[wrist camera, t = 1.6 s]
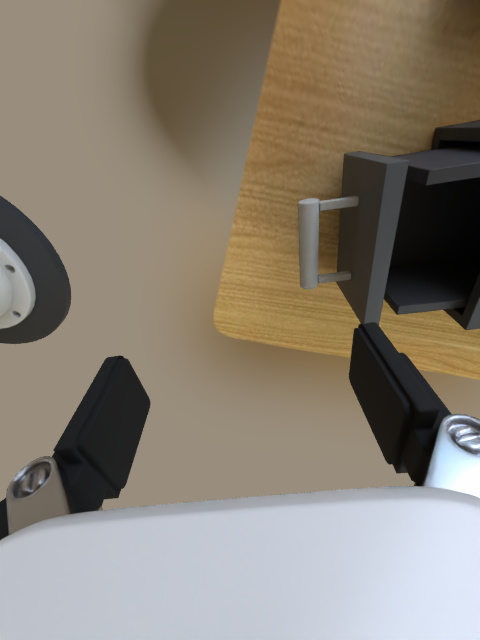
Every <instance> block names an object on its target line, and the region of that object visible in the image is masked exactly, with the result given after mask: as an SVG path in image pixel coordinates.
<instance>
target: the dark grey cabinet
mask: <svg viewBox="0 0 480 640" xmlns="http://www.w3.org/2000/svg"><path fill="white" fill-rule="evenodd" d="M477 142H480V120H479V121H473V122H467V123H461V124H455V125H450V126H444V127H438V128H436V131H435V136H434V141H433V145H432V150H434V149H440V148H446V147H452V146H458V145H464V144H471V143H477ZM444 311H445V312H446V313H447V314H449V315H450V316H451V317H452V318H453V319H454V320H455V321H456V322H457V323H459V325H461V326H462V327H463V328H464V329H465V330H471V329H480V272H479V275H478V277H477V280H476V283H475V285H474V288H473V290H472V293H471V295H470V298H469V300H468V303H467V305H466V307H463V308H454V309H444Z"/></svg>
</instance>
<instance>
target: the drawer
mask: <svg viewBox="0 0 480 640" xmlns="http://www.w3.org/2000/svg"><path fill="white" fill-rule="evenodd" d="M339 208H341V211H340V227H339V243H338V259H337V272H336V273H328V274H320V275H318V244H319V211H326V210H333V209H339ZM298 219H299V261H300V286H301V288H303V289H314V288H316V287H317V285H318V283H327V282H335V281H336V283H337V284H338V286H339V288H340V289H341V291H342V293H343V294H344V296H345V298H346V299H347V301H348V303H349V304H350V306H351V308H352V309H353V311H354V313H355V314H356V316H357V318H358V319H359V321H360V322H361V324H364V323H371V322H376V323H377V324H378V325H379V321H380V316H381V310H382V305H383V299H384V300H385V301H386V302H387V303H388V305H389V306H390V307H391V308H392V309H393V311H394V312H395V313H396V314H397V315H399V314H408V313H417V312H426V311H435V310H444V309H454V308H463V307H466V305H467V303H468V300H469V298H470V295H471V293H472V290H473V288H474V285H475V283H476V280H477V277H478V275H479V272H480V142H477V143H471V144H464V145H458V146H452V147H446V148H440V149H434V150H428V151H422V152H416V153H410V154H404V155H398V156H392V157H388V156H383V155H377V154H372V153H366V152H361V151H357V152H351V153H345V154H344V163H343V179H342V195H341V198H337V199H331V200H324V201H319V199H315V198H310V199H304V200H301V201H299V202H298Z"/></svg>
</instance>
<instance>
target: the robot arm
mask: <svg viewBox="0 0 480 640" xmlns="http://www.w3.org/2000/svg"><path fill="white" fill-rule="evenodd" d="M35 299H36V294H35V287H34V284H33V280H32V277H31V276H30V274H29V272H28V270H27V268H26V266H25V265H24V263H23V262H22V261H21V259H20V258H19V257H18V255H17V254H16V253H15V252H14V251H13V250H12V249H11V248H10V247H9V246H8V245H7V244H6V243H5V242H4V241H3V240H2V239H1V238H0V329H2V328H9V327H11V326H14V325H17V324H18V323H19V322H21V321H22V320H24V319H25V318H26V317H27V316H28V315H29V314H30V313H31V311H32V309H33V307H34V305H35ZM349 379H350V383H351V385H352V388H353V390H354V392H355V394H356V396H357V398H358V401H359V403H360V405H361V407H362V409H363V412H364V414H365V416H366V418H367V421H368V423H369V425H370V427H371V429H372V432H373V434H374V435H375V438H376V440H377V442H378V445H379V446H380V449H381V451H382V453H383V456H384V458H385V460H386V461H387V463H388V464H393V466H394V468H395V470H396V473H408V474H409V476H410V478H411V480H412V481H414V482H415V484H414V486H393V487H392V486H390V487H374V488H357V489H343V490H342V489H341V490H330V491H318V492H304V493H292V494H280V495H268V496H267V495H266V496H254V497H243V498H231V499H219V500H207V501H197V502H184V503H173V504H162V505H151V506H140V507H129V508H118V509H110V510H103V509H102V503H103V500H104V499H112V498H118V497H119V494H120V491H121V489H123V488H124V487H125V485H126V483H127V479H128V476H129V473H130V469H131V466H132V463H133V460H134V457H135V454H136V450H137V447H138V444H139V441H140V437H141V434H142V431H143V428H144V424H145V421H146V418H147V415H148V412H149V408H150V399H149V397H148V395H147V393H146V391H145V390H144V388H143V386H142V384H141V382H140V380H139V379H138V377H137V375H136V373H135V371H134V369H133V368H132V366H131V364H130V362H129V360H128V359H125V358H124V357H123V356H115V357H108V358H106V359H105V361H104V363H103V364H102V366H101V368H100V370H99V371H98V373H97V375H96V377H95V378H94V380H93V382H92V384H91V386H90V387H89V389H88V391H87V393H86V394H85V396H84V398H83V399H82V401H81V403H80V405H79V406H78V408H77V410H76V412H75V413H74V415H73V417H72V419H71V420H70V422H69V424H68V426H67V427H66V429H65V431H64V433H63V434H62V436H61V438H60V440H59V441H58V443H57V445H56V447H55V448H54V451H55V452H54V454H53V456H52V457H50V456H44V457H40V458H37V459H35V460H33V461H31V462H30V463H28V464H27V465H26V466H24V467H23V468H22V469H21V470H20V471H19V472H18V473H17V474H16V475H15V477H14V478H13V479H12V481H11V482H10V484H9V486H8V489H7V493H6V498H5V499H4V500H2V501H1V502H0V640H480V420H479V419H478V418H475V417H472V416H469V415H465V414H464V415H463V414H453V415H452V414H451V413H450V412H449V410H448V409H447V408H446V406H445V405H444V404H443V402H442V401H441V400H440V398H439V397H438V396H437V394H436V393H435V392H434V391H433V389H432V388H431V387H430V385H429V384H428V383H427V381H426V380H425V379H424V378H423V376H422V375H421V373H420V372H419V371H418V370H417V368H416V367H415V366H414V364H413V363H412V362H411V360H410V359H409V358H408V357H407V356H406V355H405V354H404V353H398V351H397V350H396V349H395V347H394V346H393V344H392V343H391V342H390V340H389V339H388V338H387V336H386V335H385V334H384V332H383V331H382V330H381V328H380V327H379V325H378V324H377V323H376V322H371V323H364V324H359V326H358V328H355V329H354V334H353V344H352V353H351V362H350V372H349Z"/></svg>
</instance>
